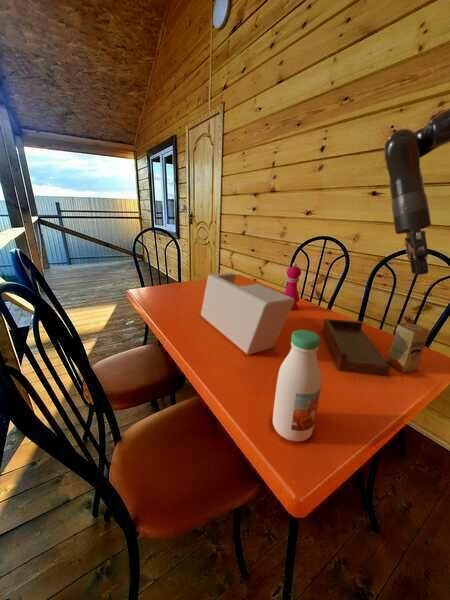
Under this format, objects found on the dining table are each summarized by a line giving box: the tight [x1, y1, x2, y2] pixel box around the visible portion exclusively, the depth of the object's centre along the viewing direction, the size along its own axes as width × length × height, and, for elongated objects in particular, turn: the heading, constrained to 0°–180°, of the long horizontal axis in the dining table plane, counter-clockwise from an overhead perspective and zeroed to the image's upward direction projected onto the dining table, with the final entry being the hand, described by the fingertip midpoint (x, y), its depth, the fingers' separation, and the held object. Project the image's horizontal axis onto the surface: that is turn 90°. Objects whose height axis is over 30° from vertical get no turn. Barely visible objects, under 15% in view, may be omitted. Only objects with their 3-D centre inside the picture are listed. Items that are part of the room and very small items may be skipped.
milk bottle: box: [272, 329, 322, 442], centre depth 46 cm, size 8×8×20 cm
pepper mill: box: [282, 262, 302, 311], centre depth 109 cm, size 7×7×20 cm
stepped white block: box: [200, 272, 294, 355], centre depth 83 cm, size 30×10×30 cm, turn 30°
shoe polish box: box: [386, 322, 431, 373], centre depth 69 cm, size 5×5×12 cm
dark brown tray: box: [322, 318, 391, 377], centre depth 78 cm, size 12×24×5 cm, turn 170°
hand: (419, 273), depth 67 cm, fingers open, 8 cm apart
